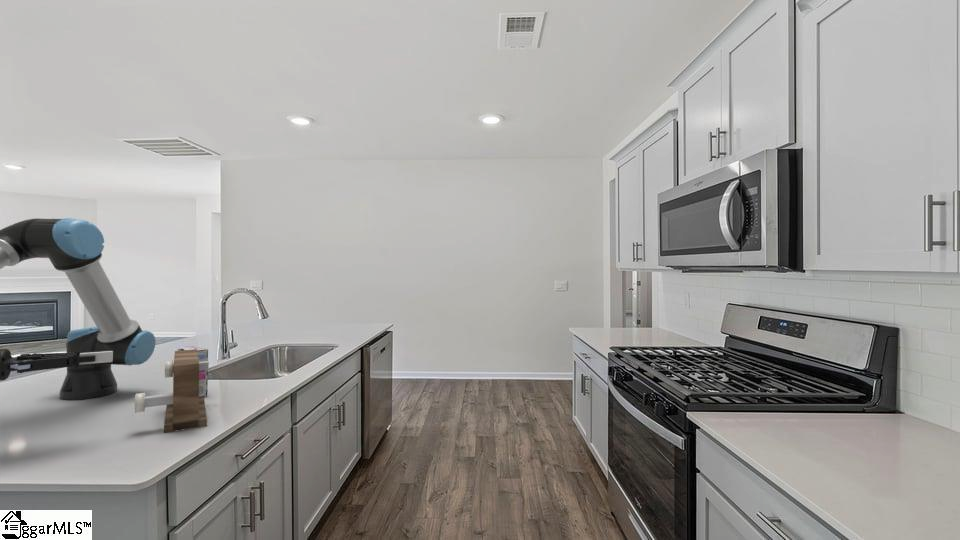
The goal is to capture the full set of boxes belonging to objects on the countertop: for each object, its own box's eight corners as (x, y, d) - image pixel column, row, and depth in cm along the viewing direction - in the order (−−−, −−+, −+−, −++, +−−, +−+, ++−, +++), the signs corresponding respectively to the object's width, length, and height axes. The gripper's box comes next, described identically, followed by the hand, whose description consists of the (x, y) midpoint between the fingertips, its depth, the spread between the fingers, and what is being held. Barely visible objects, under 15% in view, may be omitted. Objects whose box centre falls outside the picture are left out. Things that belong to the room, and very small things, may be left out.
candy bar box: (208, 396, 156) (209, 349, 156) (193, 400, 151) (193, 351, 151) (191, 391, 162) (192, 345, 161) (176, 394, 157) (176, 347, 157)
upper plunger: (165, 375, 142) (165, 359, 142) (207, 371, 148) (208, 356, 148) (164, 379, 138) (164, 362, 138) (208, 374, 144) (208, 359, 144)
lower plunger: (136, 409, 124) (136, 391, 124) (186, 403, 131) (186, 386, 131) (134, 415, 120) (134, 396, 120) (186, 408, 127) (186, 390, 126)
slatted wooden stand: (166, 408, 143) (167, 351, 142) (203, 403, 148) (204, 348, 148) (164, 432, 123) (164, 366, 122) (207, 425, 128) (207, 362, 128)
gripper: (-7, 376, 112) (115, 365, 125) (-27, 388, 101) (108, 375, 114) (-6, 345, 112) (115, 338, 125) (-27, 354, 101) (109, 346, 114)
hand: (112, 356), depth 119 cm, fingers closed
